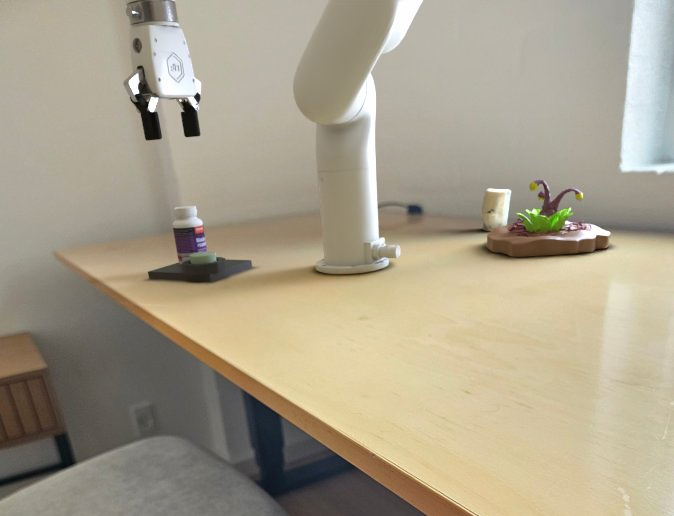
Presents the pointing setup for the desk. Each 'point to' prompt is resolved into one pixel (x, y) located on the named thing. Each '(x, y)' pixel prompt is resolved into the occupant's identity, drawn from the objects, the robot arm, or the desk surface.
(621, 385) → the desk surface
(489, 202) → the white speckled cylinder
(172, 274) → the scale
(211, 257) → the tare button
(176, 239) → the pill bottle
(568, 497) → the desk surface
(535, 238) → the plant
